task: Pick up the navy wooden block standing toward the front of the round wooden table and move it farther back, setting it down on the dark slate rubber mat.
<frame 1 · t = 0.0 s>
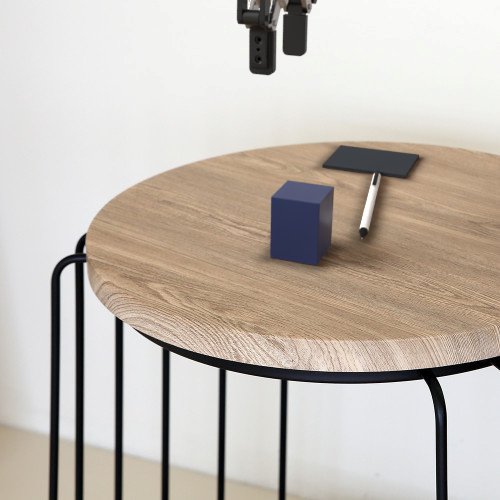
hand: (279, 63, 72), 16 cm above the table, tool pointing down, fingers open, 8 cm apart
mat: (371, 162, 97), on the table
block: (301, 251, 74), on the table
pen: (370, 207, 84), on the table
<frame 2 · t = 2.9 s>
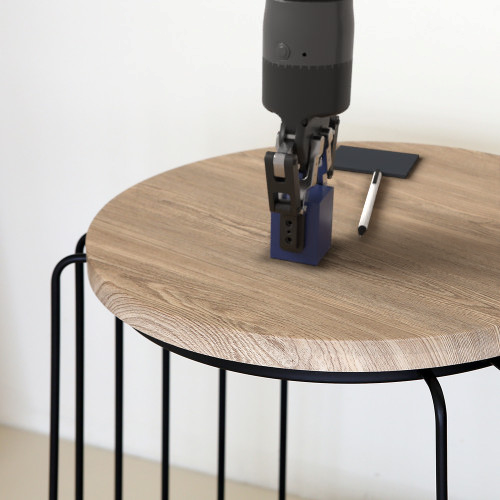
hand: (301, 238, 73), 1 cm above the table, tool pointing down, fingers closed on block, 4 cm apart
block: (301, 251, 74), on the table, touching gripper
everything else where it was.
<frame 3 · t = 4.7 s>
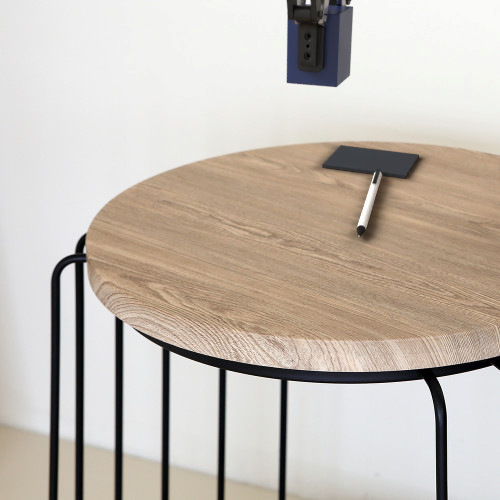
hand: (319, 63, 69), 17 cm above the table, tool pointing down, fingers closed on block, 4 cm apart
block: (318, 79, 70), point 15 cm above the table, touching gripper
everything else where it was.
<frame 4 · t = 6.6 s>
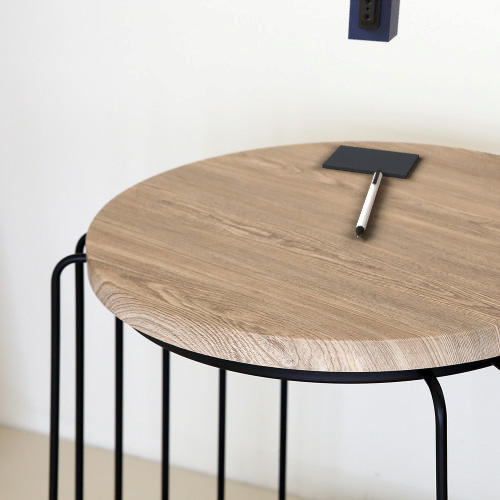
hand: (374, 24, 87), 17 cm above the table, tool pointing down, fingers closed on block, 4 cm apart
block: (372, 37, 88), point 15 cm above the table, touching gripper
everything else where it was.
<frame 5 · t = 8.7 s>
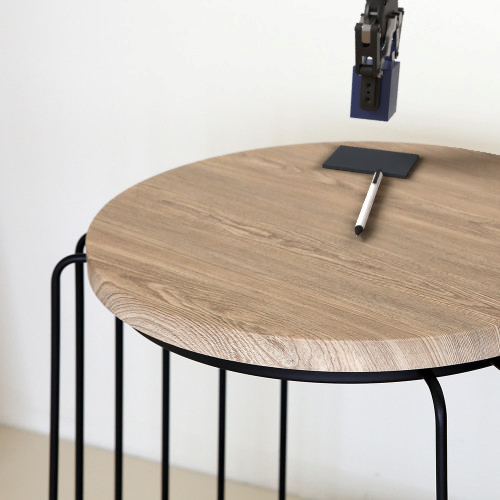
hand: (374, 103, 93), 7 cm above the table, tool pointing down, fingers closed on block, 4 cm apart
block: (373, 114, 94), point 6 cm above the table, touching gripper
everything else where it was.
when the fingers open (2 cm above the table, at t = 10.4 s): block stays where it is, resting on mat.
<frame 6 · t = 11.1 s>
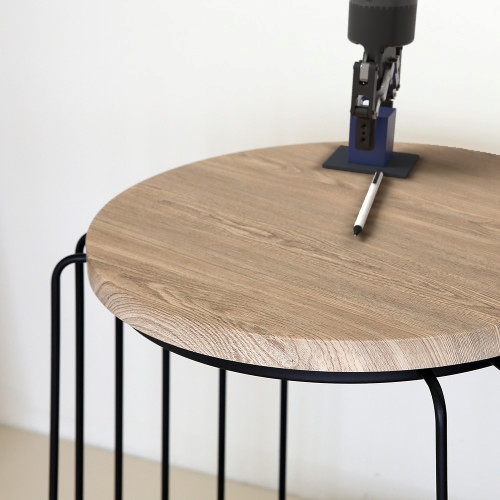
hand: (373, 139, 95), 3 cm above the table, tool pointing down, fingers open, 8 cm apart
block: (370, 159, 96), resting on mat
everything else where it was.
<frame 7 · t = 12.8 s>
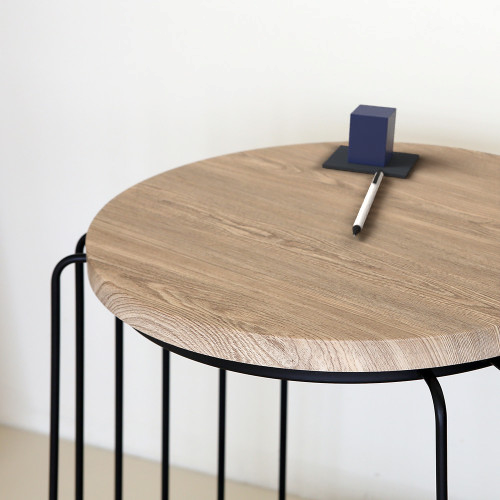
nothing on the table moved.
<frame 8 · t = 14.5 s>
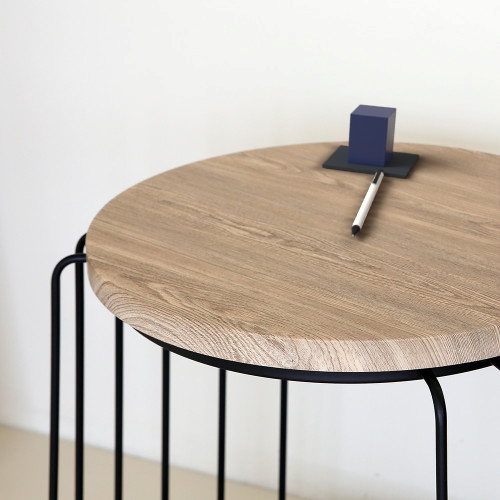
nothing on the table moved.
at the end: block inside the target area on the mat (0.2 cm from its centre), point 0.4 cm above the mat's base; block moved 27.0 cm from its start; the gripper is holding nothing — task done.
